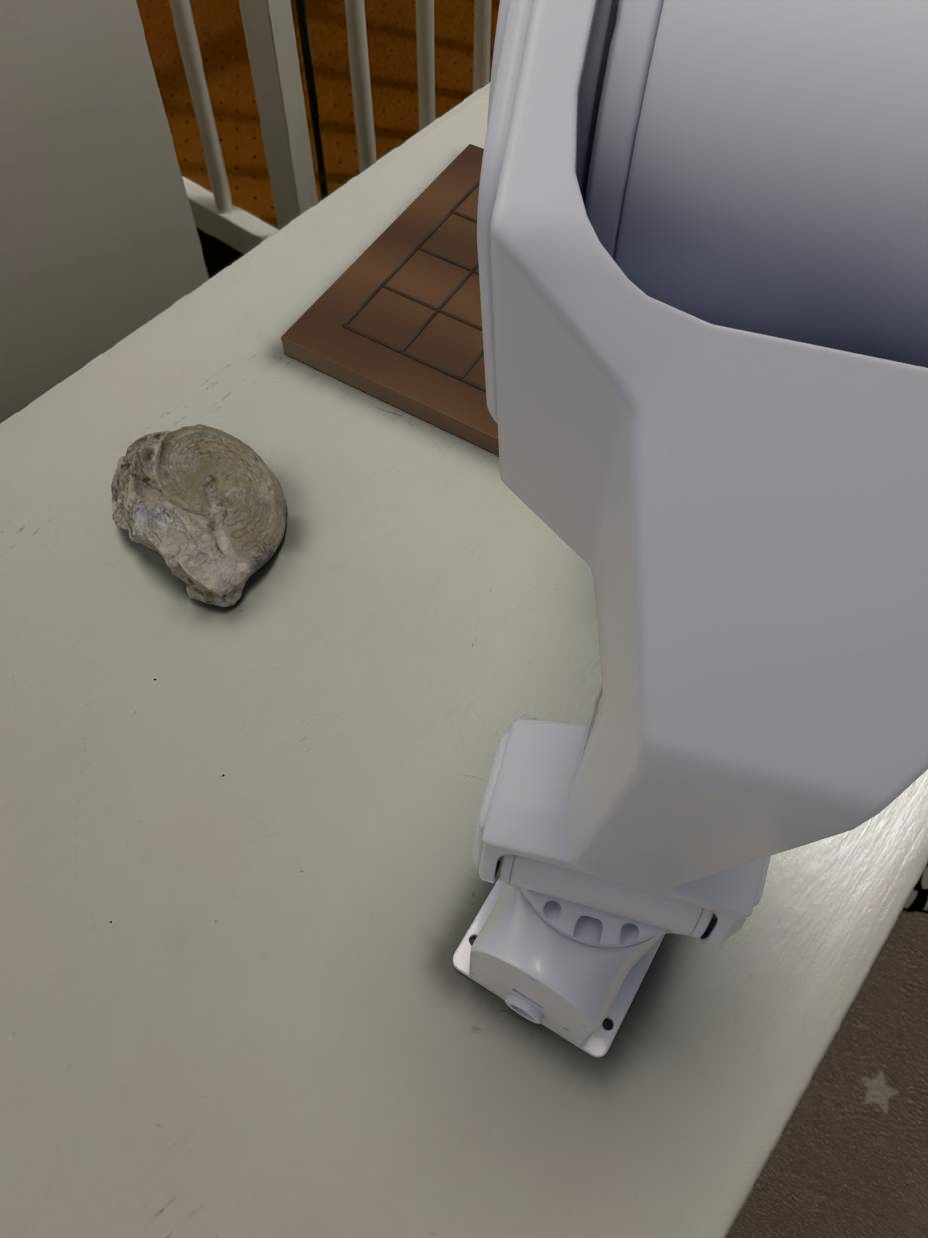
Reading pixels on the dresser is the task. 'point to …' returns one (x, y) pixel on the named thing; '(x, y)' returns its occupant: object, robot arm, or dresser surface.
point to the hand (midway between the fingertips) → (697, 428)
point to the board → (412, 312)
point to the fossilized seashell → (201, 508)
